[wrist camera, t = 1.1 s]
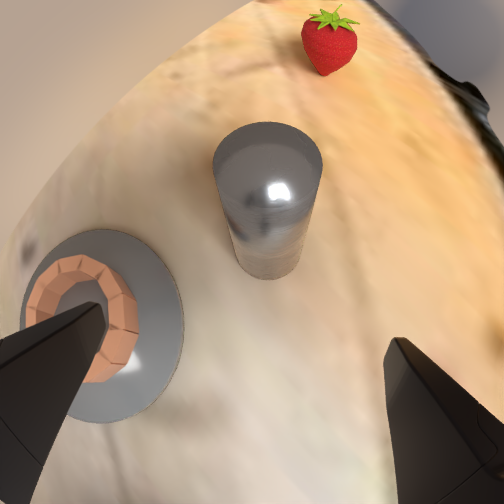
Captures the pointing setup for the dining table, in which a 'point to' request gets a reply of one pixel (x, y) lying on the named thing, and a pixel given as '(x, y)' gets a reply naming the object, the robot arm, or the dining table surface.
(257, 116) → the dining table surface
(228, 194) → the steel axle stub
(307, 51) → the strawberry
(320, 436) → the dining table surface
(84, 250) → the slate seat plate
